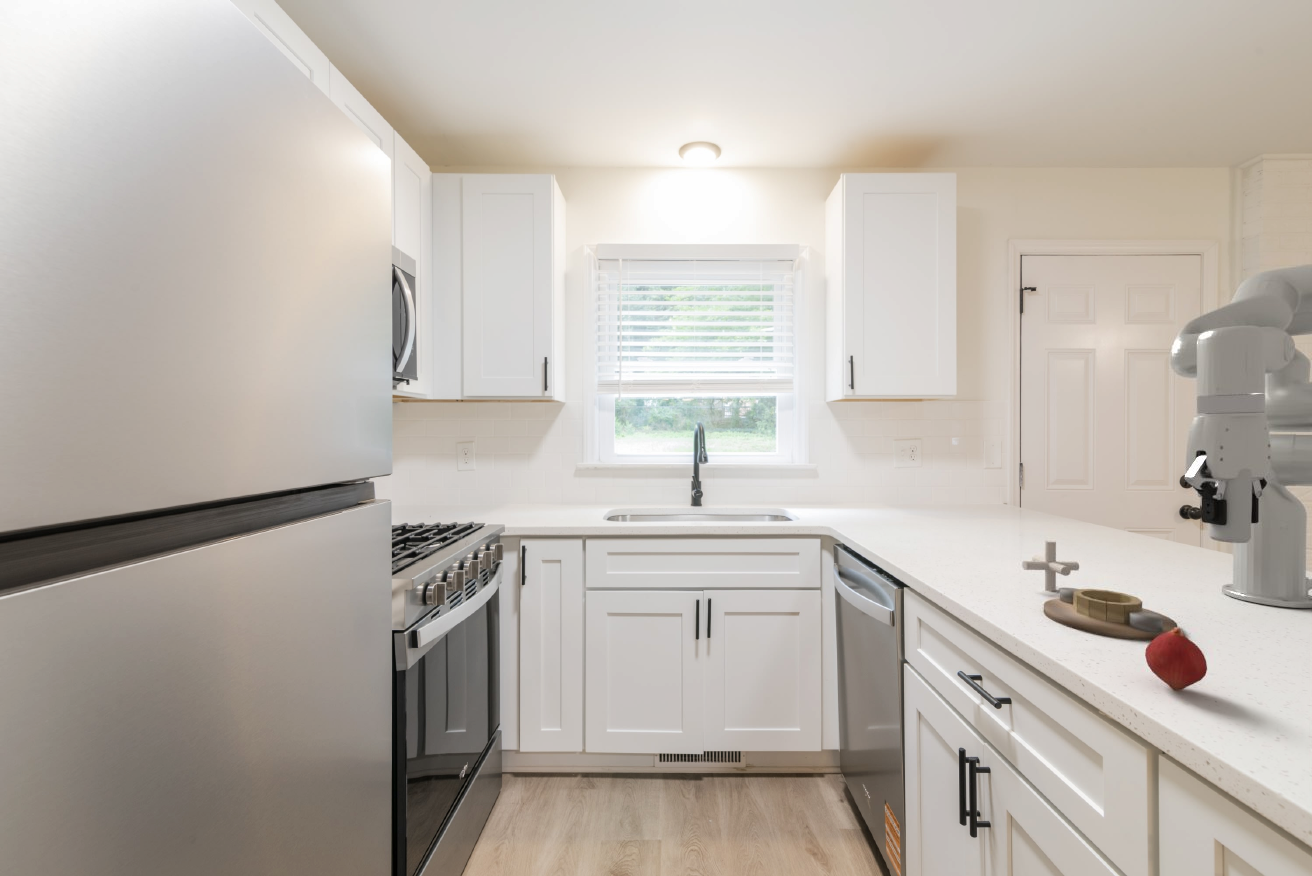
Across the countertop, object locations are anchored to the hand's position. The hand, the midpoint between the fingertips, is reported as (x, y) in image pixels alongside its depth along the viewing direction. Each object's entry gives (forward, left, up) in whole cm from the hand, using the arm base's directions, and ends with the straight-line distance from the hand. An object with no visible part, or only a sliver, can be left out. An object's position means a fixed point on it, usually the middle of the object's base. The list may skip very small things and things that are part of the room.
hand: (1229, 521), depth 89 cm
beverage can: (0, 0, -3) cm, 3 cm away
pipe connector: (+7, -28, -19) cm, 34 cm away
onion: (+26, +14, -19) cm, 35 cm away
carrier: (+12, -10, -18) cm, 24 cm away
